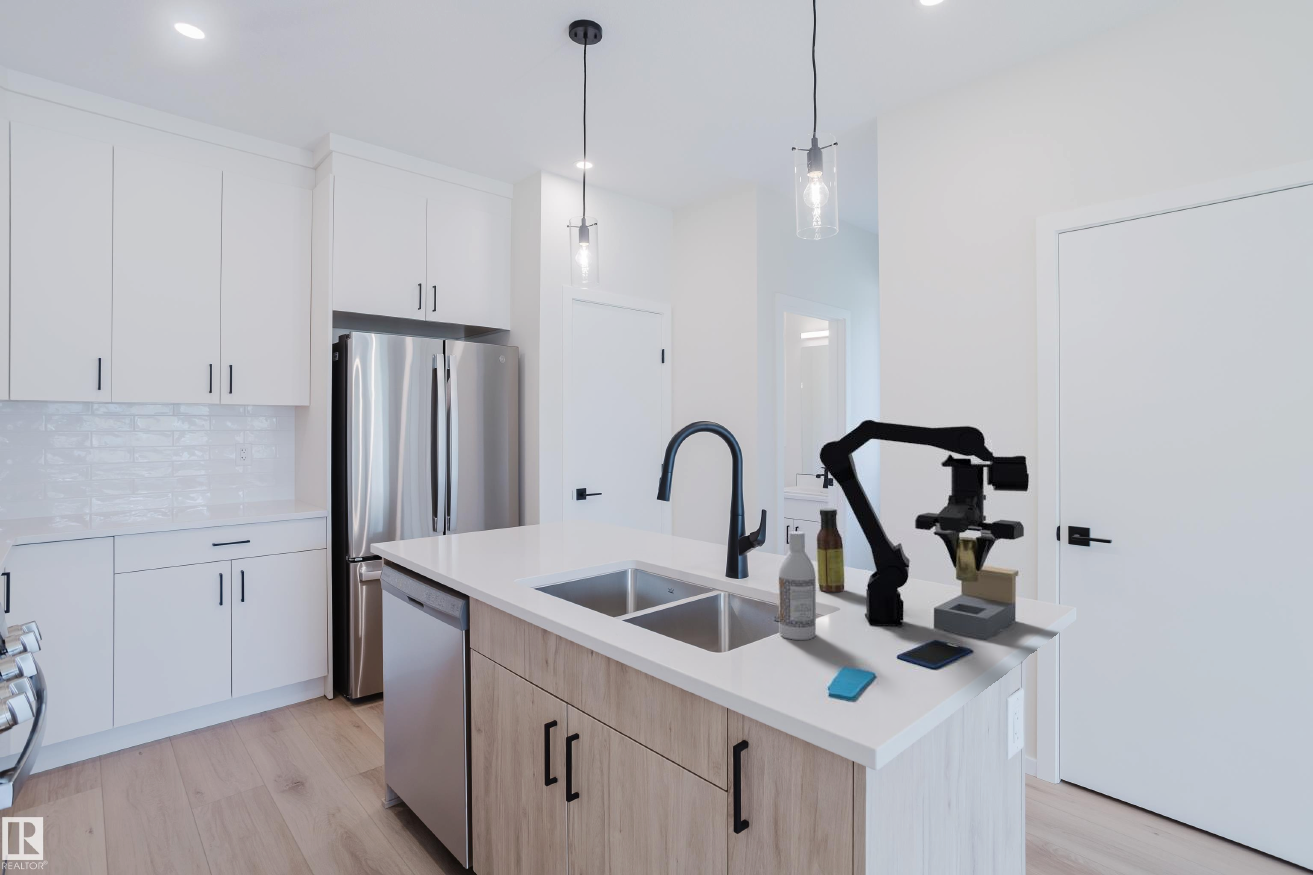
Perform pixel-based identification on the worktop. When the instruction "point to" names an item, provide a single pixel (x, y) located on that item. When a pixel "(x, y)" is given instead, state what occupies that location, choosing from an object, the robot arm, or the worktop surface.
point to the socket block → (981, 605)
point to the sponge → (849, 683)
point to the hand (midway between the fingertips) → (967, 569)
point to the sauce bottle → (830, 553)
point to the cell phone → (934, 654)
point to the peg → (966, 559)
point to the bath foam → (797, 592)
